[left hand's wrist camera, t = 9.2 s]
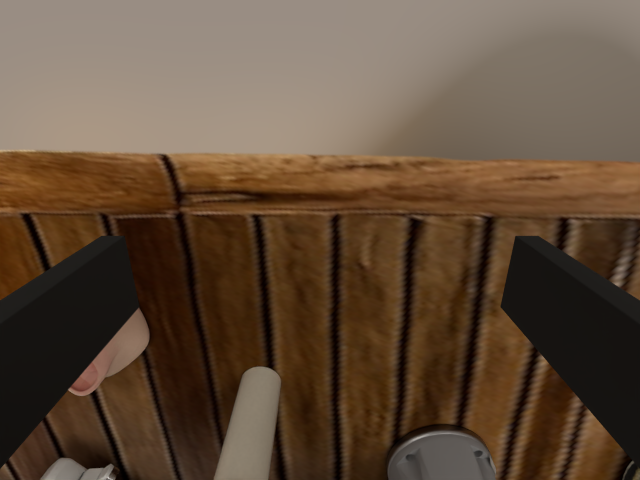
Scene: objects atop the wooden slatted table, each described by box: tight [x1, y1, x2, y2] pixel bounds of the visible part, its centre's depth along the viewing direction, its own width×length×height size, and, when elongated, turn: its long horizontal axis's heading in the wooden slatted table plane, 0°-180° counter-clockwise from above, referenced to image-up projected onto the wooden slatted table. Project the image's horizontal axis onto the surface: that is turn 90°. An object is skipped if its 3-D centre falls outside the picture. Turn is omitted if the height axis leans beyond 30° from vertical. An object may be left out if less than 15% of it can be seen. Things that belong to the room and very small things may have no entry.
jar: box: [213, 367, 281, 480], centre depth 41 cm, size 5×5×17 cm
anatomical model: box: [68, 308, 149, 396], centre depth 44 cm, size 13×4×12 cm
